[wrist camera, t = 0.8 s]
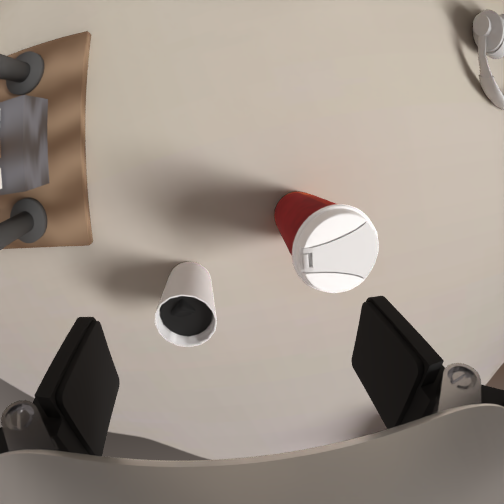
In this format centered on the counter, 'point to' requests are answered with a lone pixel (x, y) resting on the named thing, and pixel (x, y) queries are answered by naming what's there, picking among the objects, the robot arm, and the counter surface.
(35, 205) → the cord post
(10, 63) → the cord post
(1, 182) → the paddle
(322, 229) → the coffee cup
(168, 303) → the white cup
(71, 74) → the breaker panel
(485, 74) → the headphones
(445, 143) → the counter surface
